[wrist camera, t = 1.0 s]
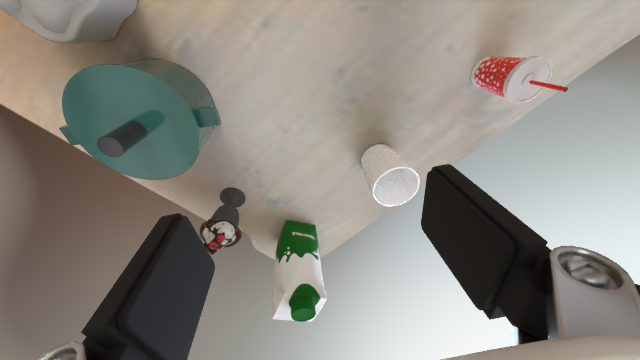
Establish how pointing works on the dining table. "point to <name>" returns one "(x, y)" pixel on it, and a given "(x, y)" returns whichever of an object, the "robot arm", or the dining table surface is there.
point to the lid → (131, 121)
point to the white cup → (389, 175)
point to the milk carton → (298, 274)
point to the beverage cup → (514, 77)
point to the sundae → (223, 222)
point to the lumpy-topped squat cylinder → (71, 18)
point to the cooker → (184, 86)
